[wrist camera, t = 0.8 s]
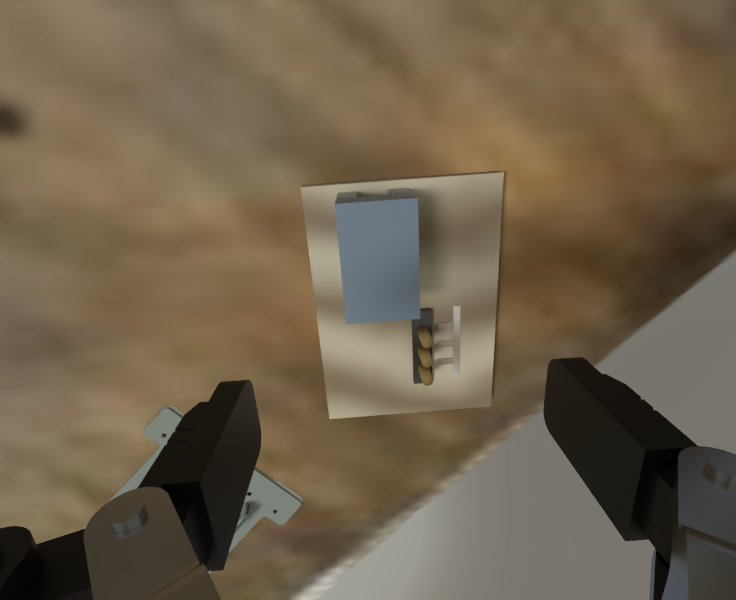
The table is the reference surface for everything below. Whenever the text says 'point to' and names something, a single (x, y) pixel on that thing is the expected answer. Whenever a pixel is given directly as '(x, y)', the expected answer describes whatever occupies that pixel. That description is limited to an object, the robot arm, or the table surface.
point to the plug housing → (379, 256)
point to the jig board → (437, 301)
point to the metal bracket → (262, 488)
